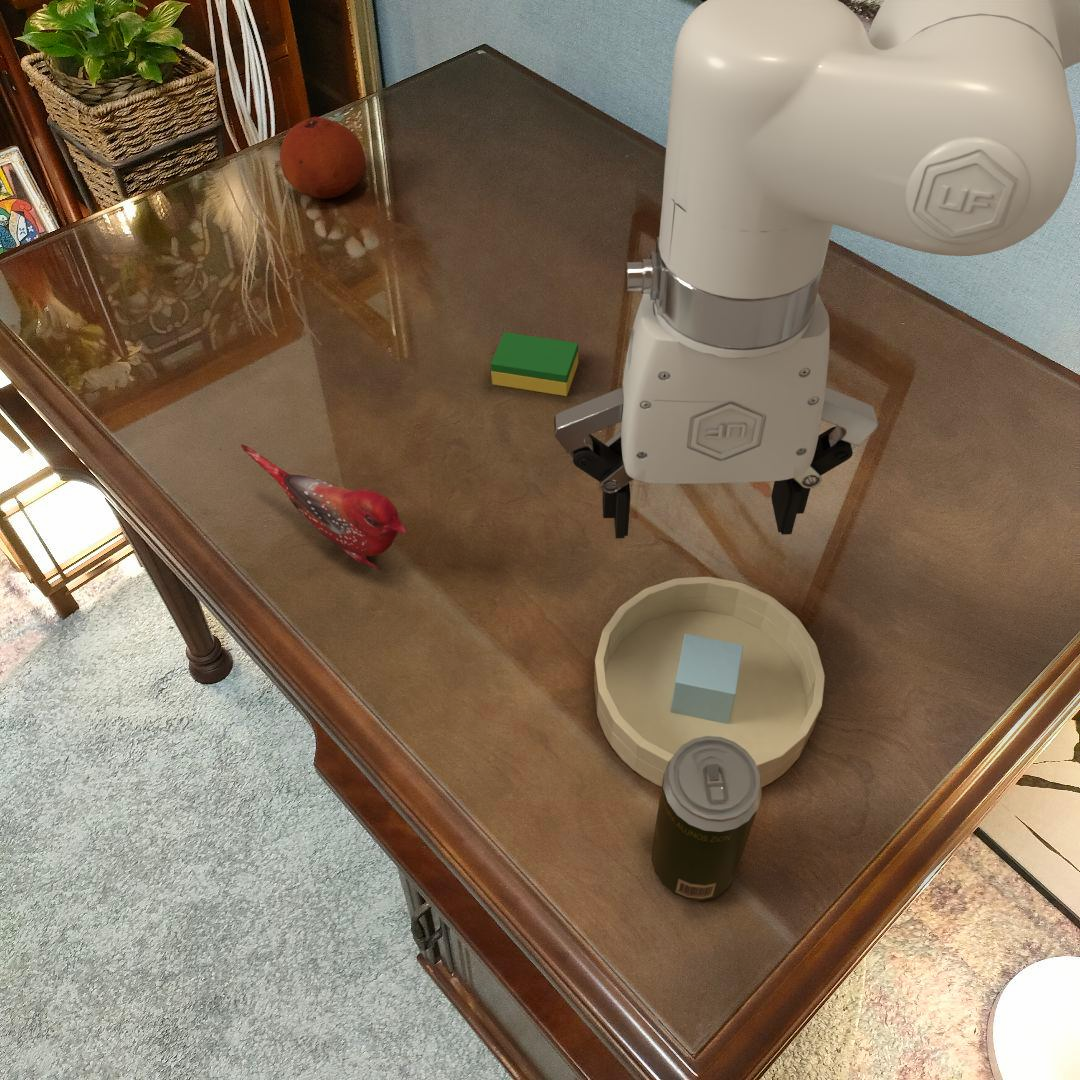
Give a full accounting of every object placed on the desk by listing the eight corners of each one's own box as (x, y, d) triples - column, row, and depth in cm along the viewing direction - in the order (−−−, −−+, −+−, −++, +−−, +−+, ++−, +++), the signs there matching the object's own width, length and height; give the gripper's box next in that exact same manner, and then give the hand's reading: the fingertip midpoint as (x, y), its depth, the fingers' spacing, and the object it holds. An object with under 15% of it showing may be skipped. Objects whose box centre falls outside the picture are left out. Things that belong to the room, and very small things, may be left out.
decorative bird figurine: (407, 610, 77) (388, 526, 69) (246, 506, 84) (213, 419, 76) (431, 585, 78) (416, 500, 71) (271, 485, 85) (241, 397, 78)
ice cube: (736, 675, 72) (743, 644, 69) (728, 724, 70) (735, 694, 67) (680, 664, 73) (684, 632, 70) (670, 712, 71) (675, 682, 67)
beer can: (743, 902, 63) (773, 820, 53) (656, 907, 63) (671, 827, 53) (728, 819, 66) (754, 729, 57) (645, 824, 66) (658, 735, 57)
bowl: (821, 631, 75) (832, 599, 72) (802, 821, 66) (813, 794, 63) (618, 592, 78) (620, 559, 75) (573, 769, 68) (573, 741, 65)
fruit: (271, 198, 112) (254, 130, 106) (324, 161, 117) (310, 93, 111) (332, 223, 109) (318, 154, 103) (384, 183, 114) (374, 115, 108)
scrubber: (578, 363, 94) (578, 342, 92) (566, 396, 91) (566, 375, 90) (505, 352, 95) (504, 331, 93) (492, 384, 93) (490, 363, 91)
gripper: (553, 339, 46) (557, 571, 59) (941, 329, 45) (857, 564, 59) (550, 240, 50) (554, 475, 64) (902, 231, 50) (832, 469, 63)
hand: (700, 518), depth 61 cm, fingers open, 9 cm apart
